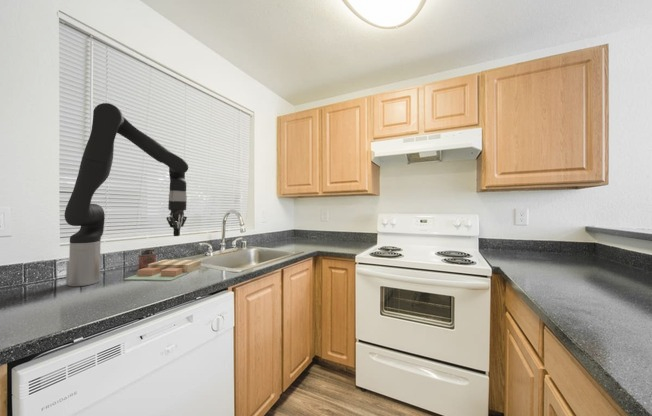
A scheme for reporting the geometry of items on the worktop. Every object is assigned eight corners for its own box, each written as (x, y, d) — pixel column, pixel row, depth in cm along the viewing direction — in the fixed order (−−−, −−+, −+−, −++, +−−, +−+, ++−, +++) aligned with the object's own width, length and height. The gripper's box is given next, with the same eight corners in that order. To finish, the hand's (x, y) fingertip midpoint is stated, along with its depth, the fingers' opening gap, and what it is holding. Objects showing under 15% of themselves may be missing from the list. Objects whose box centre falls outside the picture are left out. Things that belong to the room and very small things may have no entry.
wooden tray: (147, 272, 122) (148, 264, 122) (164, 266, 134) (164, 259, 134) (187, 273, 121) (187, 265, 121) (200, 267, 133) (200, 260, 133)
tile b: (167, 268, 119) (167, 273, 119) (160, 270, 114) (160, 275, 114) (182, 268, 119) (182, 273, 119) (175, 270, 114) (175, 276, 114)
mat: (123, 280, 108) (123, 278, 108) (146, 272, 121) (146, 271, 121) (170, 280, 108) (171, 279, 108) (188, 273, 121) (188, 272, 121)
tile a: (145, 267, 119) (145, 272, 119) (137, 270, 114) (137, 275, 114) (159, 267, 119) (159, 273, 119) (152, 270, 114) (152, 275, 114)
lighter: (139, 270, 126) (140, 250, 126) (137, 269, 128) (137, 249, 128) (157, 267, 133) (157, 248, 133) (154, 266, 135) (155, 248, 135)
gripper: (178, 200, 127) (177, 234, 127) (160, 199, 114) (159, 237, 114) (192, 201, 127) (191, 234, 127) (177, 200, 114) (175, 237, 114)
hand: (176, 235), depth 120 cm, fingers closed
